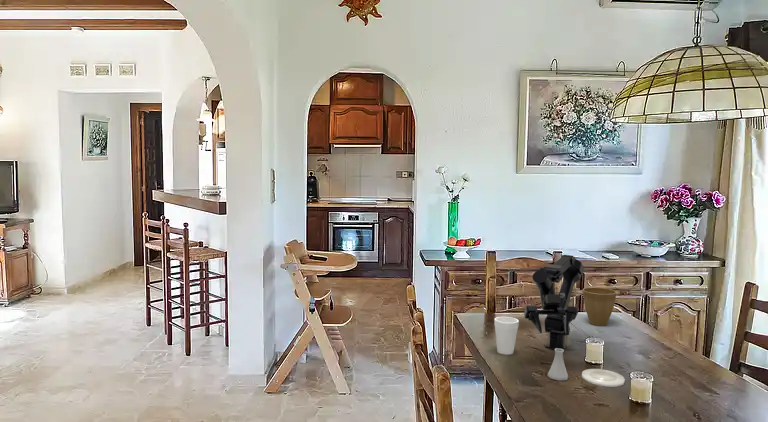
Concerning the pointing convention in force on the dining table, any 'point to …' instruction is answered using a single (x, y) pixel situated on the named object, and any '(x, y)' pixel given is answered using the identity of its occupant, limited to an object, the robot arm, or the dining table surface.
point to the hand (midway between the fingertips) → (553, 333)
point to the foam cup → (506, 334)
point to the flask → (558, 367)
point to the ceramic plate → (603, 377)
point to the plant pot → (599, 304)
